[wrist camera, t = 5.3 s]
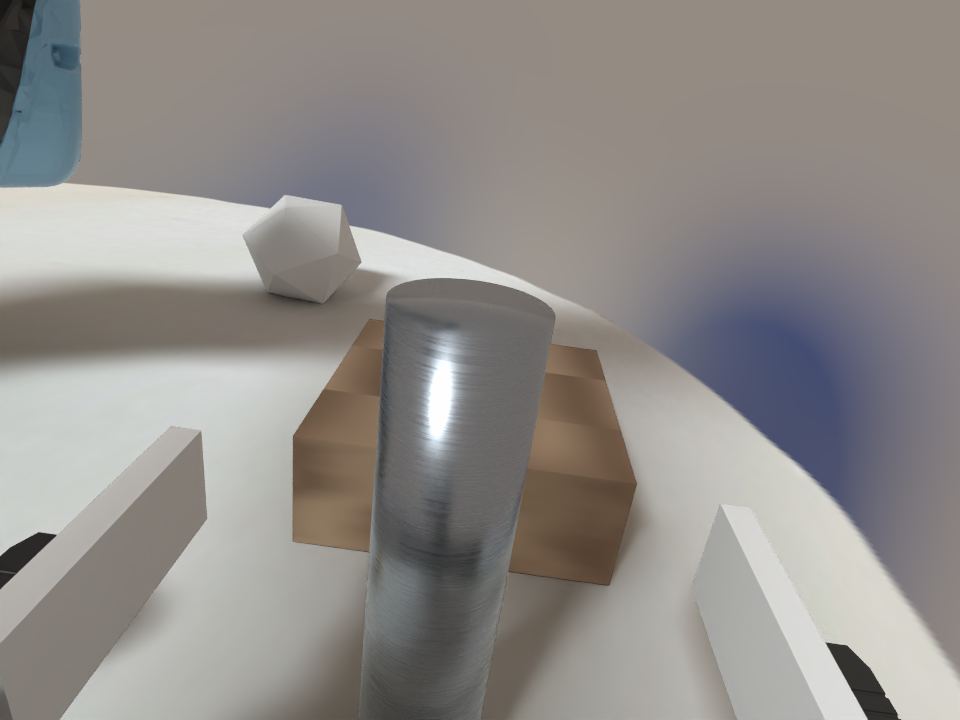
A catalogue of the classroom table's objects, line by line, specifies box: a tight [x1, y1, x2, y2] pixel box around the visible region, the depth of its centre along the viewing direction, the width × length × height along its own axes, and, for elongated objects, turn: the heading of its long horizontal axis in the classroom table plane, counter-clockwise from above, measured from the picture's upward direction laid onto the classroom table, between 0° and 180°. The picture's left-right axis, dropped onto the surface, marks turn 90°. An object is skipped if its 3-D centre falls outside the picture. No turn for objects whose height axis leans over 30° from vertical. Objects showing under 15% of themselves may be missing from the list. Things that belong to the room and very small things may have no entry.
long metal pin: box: [358, 278, 555, 720], centre depth 14 cm, size 3×3×14 cm
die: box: [243, 195, 361, 304], centre depth 51 cm, size 8×9×10 cm
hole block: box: [293, 319, 637, 585], centre depth 30 cm, size 13×13×5 cm
